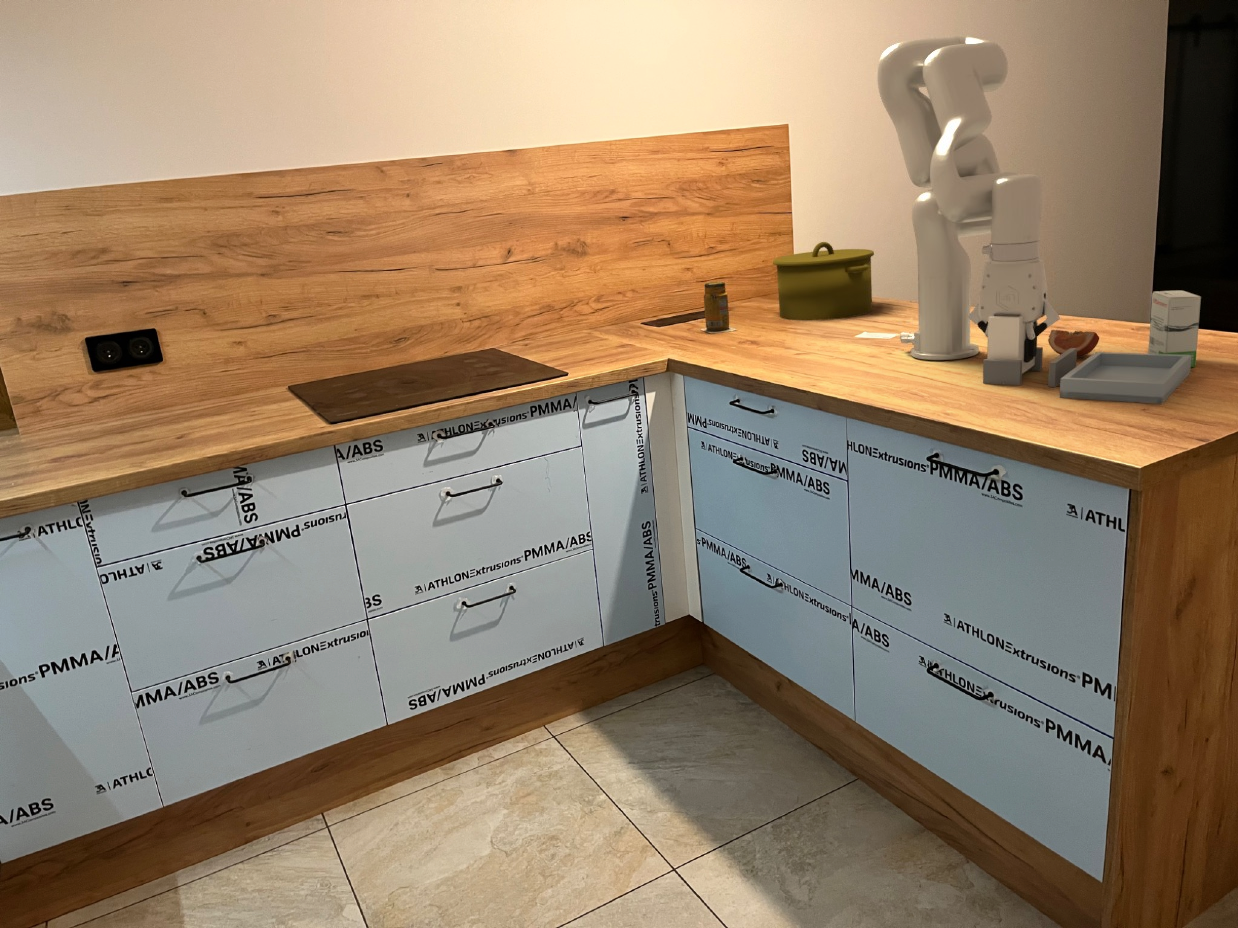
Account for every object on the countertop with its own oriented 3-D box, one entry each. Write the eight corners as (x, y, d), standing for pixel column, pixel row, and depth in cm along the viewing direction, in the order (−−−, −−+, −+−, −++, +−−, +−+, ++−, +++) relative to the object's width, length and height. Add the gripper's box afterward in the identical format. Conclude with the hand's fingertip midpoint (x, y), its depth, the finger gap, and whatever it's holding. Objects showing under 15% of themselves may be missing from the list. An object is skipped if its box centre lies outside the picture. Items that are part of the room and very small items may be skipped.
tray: (1059, 397, 143) (1060, 378, 142) (1095, 369, 157) (1096, 352, 156) (1162, 404, 134) (1163, 384, 133) (1189, 373, 148) (1191, 355, 147)
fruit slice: (1040, 358, 169) (1041, 331, 168) (1062, 351, 173) (1063, 325, 171) (1084, 363, 162) (1085, 335, 161) (1105, 356, 166) (1107, 328, 164)
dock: (983, 383, 156) (983, 360, 155) (1006, 368, 165) (1007, 346, 164) (1054, 387, 149) (1055, 363, 148) (1075, 371, 157) (1076, 348, 156)
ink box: (1197, 367, 151) (1203, 295, 148) (1164, 369, 152) (1169, 298, 149) (1177, 357, 159) (1182, 288, 156) (1146, 359, 160) (1150, 290, 157)
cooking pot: (751, 316, 252) (747, 248, 246) (824, 301, 263) (821, 236, 258) (826, 325, 226) (823, 249, 221) (902, 308, 238) (901, 235, 232)
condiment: (726, 326, 241) (723, 280, 237) (737, 330, 233) (734, 282, 229) (699, 330, 239) (696, 283, 236) (710, 334, 231) (706, 286, 228)
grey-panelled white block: (987, 375, 157) (988, 315, 154) (1005, 363, 164) (1006, 305, 160) (1017, 377, 154) (1019, 316, 151) (1034, 364, 161) (1037, 306, 157)
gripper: (955, 256, 155) (954, 362, 161) (1062, 255, 145) (1057, 368, 150) (971, 250, 161) (970, 352, 166) (1076, 248, 150) (1070, 357, 156)
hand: (1011, 358), depth 158 cm, fingers closed on grey-panelled white block, 5 cm apart
